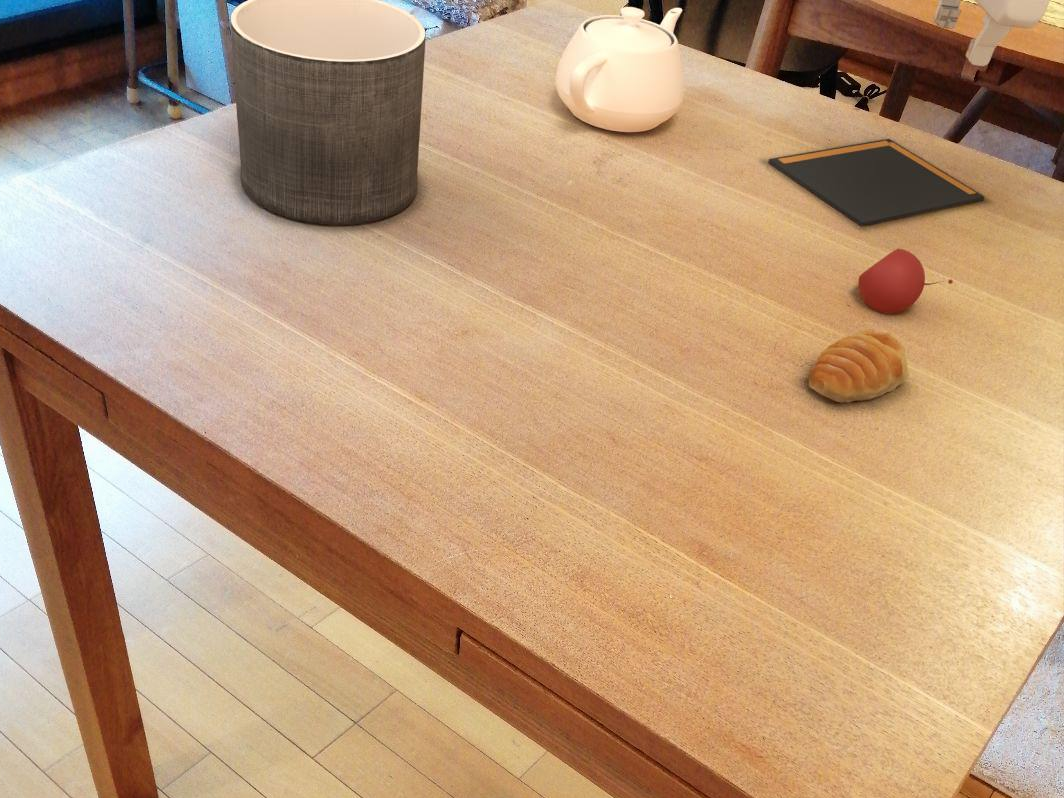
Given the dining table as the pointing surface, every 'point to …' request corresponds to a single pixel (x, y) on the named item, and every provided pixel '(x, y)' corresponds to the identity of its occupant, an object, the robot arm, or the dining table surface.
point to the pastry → (860, 367)
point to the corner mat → (875, 181)
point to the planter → (328, 107)
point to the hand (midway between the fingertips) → (958, 43)
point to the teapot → (623, 71)
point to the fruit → (893, 282)
